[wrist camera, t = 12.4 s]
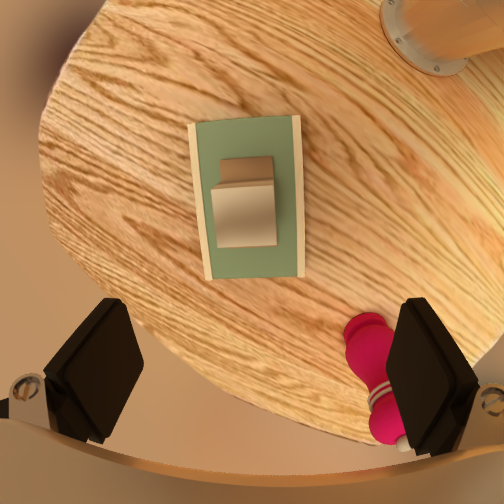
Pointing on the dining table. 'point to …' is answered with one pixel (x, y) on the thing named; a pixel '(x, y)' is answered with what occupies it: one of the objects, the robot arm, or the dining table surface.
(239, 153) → the dock
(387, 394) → the pepper mill
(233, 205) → the butter dish
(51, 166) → the dining table surface
